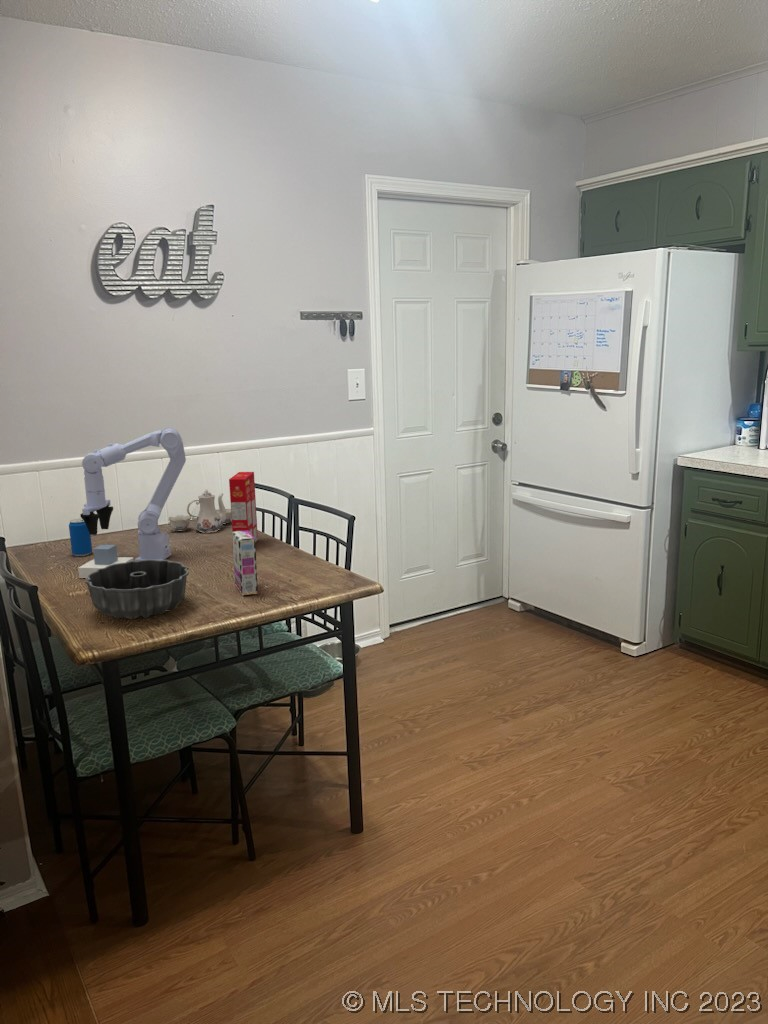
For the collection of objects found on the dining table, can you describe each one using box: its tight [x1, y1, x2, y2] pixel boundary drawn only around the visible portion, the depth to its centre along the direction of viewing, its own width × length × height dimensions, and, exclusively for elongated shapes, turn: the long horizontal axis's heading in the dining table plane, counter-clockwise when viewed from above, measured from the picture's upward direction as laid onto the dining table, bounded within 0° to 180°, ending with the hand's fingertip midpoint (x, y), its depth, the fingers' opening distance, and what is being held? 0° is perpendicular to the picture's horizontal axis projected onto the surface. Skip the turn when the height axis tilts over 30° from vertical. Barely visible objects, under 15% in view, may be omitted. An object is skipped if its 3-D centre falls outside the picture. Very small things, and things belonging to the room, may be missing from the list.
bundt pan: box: [84, 559, 190, 620], centre depth 202 cm, size 26×26×10 cm
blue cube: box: [92, 544, 119, 565], centre depth 234 cm, size 5×5×5 cm
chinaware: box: [166, 489, 232, 532], centre depth 287 cm, size 28×17×17 cm, turn 130°
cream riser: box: [77, 556, 135, 578], centre depth 234 cm, size 12×12×4 cm
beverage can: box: [68, 517, 93, 557], centre depth 255 cm, size 6×6×12 cm
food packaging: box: [228, 471, 259, 540], centre depth 261 cm, size 15×5×25 cm, turn 178°
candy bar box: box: [231, 530, 259, 593], centre depth 214 cm, size 11×5×16 cm, turn 21°
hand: (99, 531), depth 244 cm, fingers open, 7 cm apart
